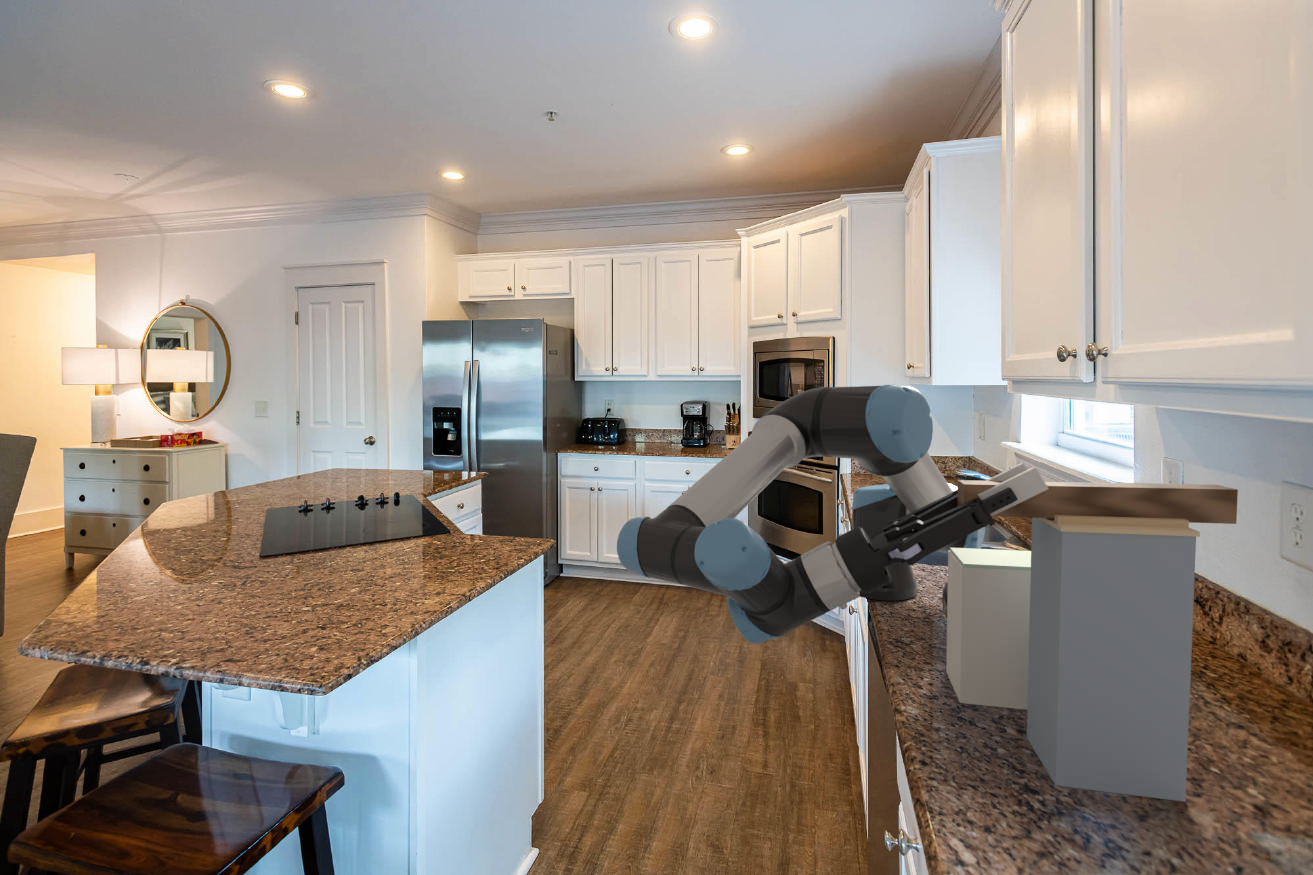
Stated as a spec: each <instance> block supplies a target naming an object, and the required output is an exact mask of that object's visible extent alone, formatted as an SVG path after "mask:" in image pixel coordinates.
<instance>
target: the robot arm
mask: <svg viewBox="0 0 1313 875" xmlns="http://www.w3.org/2000/svg"><path fill="white" fill-rule="evenodd" d="M930 414H931V408H930V405H929V403H928V401H927V399H926V397H925V396H924V394H922V393H921V391H919V390H918V389H917V388H915V387H912V386H909V385H898V384H892V383H891V384H889V383H888V384H884V385H861V386H858V385H857V386H820V387H815V388H811V389H808V390H805V391H802V392H799V393H798V394H796V395H793V396H791V397H789V398H788V399H786V400H784V401H782V402H781V403H779V404H777V405H776V406H774V407H773V408H771V409H770V410H768V412H766V413H765V414H764V415H762V416H761V417H760V418H759V419H758V420H757V421H756V422H755V423H754V425H753V427H752V431H751V434H750V435H749V436H747V437H746V438H745V439H744V440H743V441H742V442H740V443H739V444H738V445H737V446H736V447H735V448H733V450H731V451H730V452H729V453H728V454H727V455H726V456H724V457H723V458H722V459H721V460H720V461H718V463H716V464H715V465H714V466H713V467H711V469H710V470H708V471H707V472H706V473H705V474H703V476H702V477H700V478H698V479H697V481H696V482H695V483H693V484H692V485H691V486H690V487H689V488H688V489H687V490H685V491H684V492H683V493H682V494H681V495H680V496H679V497H677V498H676V499H675V500H674V501H673V502H672V503H670V504H669V505H668V506H667V507H666V508H665V509H663V510H662V511H660V513H659V514H657V516H655V517H653V518H651V517H650V516H643V517H640V516H639V517H634V518H631V519H629V520H628V521H626V522H625V524H624V525H623V526H622V528H621V529H620V531H619V533H618V536H617V540H616V553H617V556H618V559H619V562H620V564H621V565H622V567H623V568H625V569H626V570H627V571H629V572H632V573H634V574H637V575H640V576H642V577H645V578H648V579H656V580H659V581H664V582H670V583H672V584H673V583H674V584H678V585H683V586H686V587H689V588H693V589H699V590H701V591H705V592H709V593H714V594H717V595H718V594H719V595H723V596H726V597H727V598H726V600H727V601H726V602H727V607H728V608H727V609H728V612H729V615H730V616H731V620H732V621H733V623H734V625H735V627H736V629H737V630H738V631H739V632H740V633H741V636H742V637H743V638H744V640H745V641H747V642H748V643H751V644H752V645H753V644H754V645H759V644H763V643H764V642H766V641H769V640H771V639H777V638H780V637H782V636H784V635H785V634H786V633H789V632H790V631H793V630H794V629H797V628H799V627H801V626H803V625H805V624H807V623H809V622H810V621H813V620H815V619H817V618H820V617H821V616H823V615H825V614H826V613H829V612H830V611H833V610H836V609H837V608H840V609H841V610H845V609H847V608H848V603H849V602H852V601H854V600H856V599H858V598H864V599H867V600H868V599H869V600H876V601H889V602H890V601H893V602H894V601H904V600H909V599H912V598H914V597H916V596H917V594H918V582H917V580H916V578H915V574H914V570H913V567H912V566H913V565H915V564H917V563H918V562H919V561H920V560H922V559H924V558H926V556H928V555H931V554H933V553H935V552H938V553H939V552H940V553H944V554H948V550H950V548H972V549H982V546H983V542H984V538H985V532H986V527H988V526H989V527H992V526H994V525H995V524H996V522H995V520H994V518H993V517H994V515H996V514H998V513H1000V512H1002V511H1004V510H1006V509H1008V508H1010V507H1012V506H1014V505H1017V504H1019V503H1021V502H1023V501H1025V500H1027V499H1029V498H1031V497H1033V496H1035V495H1037V494H1039V493H1041V492H1044V491H1046V490H1048V487H1047V485H1046V484H1045V482H1046V481H1044V479H1043V477H1042V476H1041V474H1040V472H1039V471H1038V469H1037V468H1036V467H1035V466H1032V467H1030V468H1027V466H1026V465H1025V464H1024V463H1023V462H1020V463H1018V464H1015V465H1014V466H1012V467H1009V468H1008V469H1006V470H1003V471H1002V472H1000V473H998V474H995V475H994V476H992V477H990V478H988V479H986V480H985V481H1004V482H1002V483H1000V484H998V485H996V486H994V487H992V488H990V489H987V490H985V491H983V492H981V493H979V494H977V495H978V497H979V498H974V499H973V500H971V501H969V502H967V503H964V504H962V505H960V506H958V507H957V491H958V486H956V485H954V484H952V483H948V482H947V479H946V478H945V477H944V475H943V474H942V472H941V471H940V469H939V467H938V466H937V464H936V463H935V462H934V461H935V460H933V458H932V457H931V455H930V453H929V449H930V447H931V444H932V442H933V441H932V440H933V432H934V430H933V429H934V427H933V426H934V425H933V423H934V422H933V417H932V416H931V415H930ZM814 457H815V458H817V457H821V458H822V457H825V458H841V459H853V460H856V462H857V463H858V464H859V465H860V466H861V467H862V468H863V469H864V470H865V471H866V472H868V473H870V474H871V475H873V476H877V477H881V478H882V479H883V480H884V481H885V483H886V484H885V483H884V484H874V485H867V486H861V487H859V488H857V489H855V490H854V492H853V495H852V507H851V511H852V512H851V513H852V514H851V520H852V521H851V522H852V523H851V525H852V526H851V527H852V528H851V529H850V530H848V531H846V532H845V533H842V534H841V535H838V536H837V537H836V539H835V540H834V543H833V542H831V541H826V542H824V543H822V544H820V545H817V546H816V547H813V548H812V549H810V550H807V551H805V552H804V553H802V554H801V555H799V556H797V557H795V558H794V559H791V560H789V561H787V562H785V563H784V562H783V561H782V560H781V559H780V558H779V557H778V555H777V554H776V553H775V552H774V551H773V550H772V548H770V546H769V545H768V544H767V542H766V541H765V539H764V537H762V536H761V535H760V534H759V532H756V531H755V529H753V528H751V527H750V526H749V525H748V524H747V523H745V522H744V521H743V520H740V519H738V518H737V516H739V514H741V512H743V511H744V510H745V508H746V507H747V506H748V505H749V504H750V503H751V502H753V501H754V499H756V497H757V496H759V494H761V492H762V491H764V490H765V489H766V488H767V487H768V486H769V484H771V483H772V482H773V480H774V479H776V478H777V477H778V475H779V474H781V473H782V472H783V470H785V469H789V468H793V467H796V466H797V465H798V464H800V463H801V462H802V461H803V460H804V459H807V458H814Z"/></svg>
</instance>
